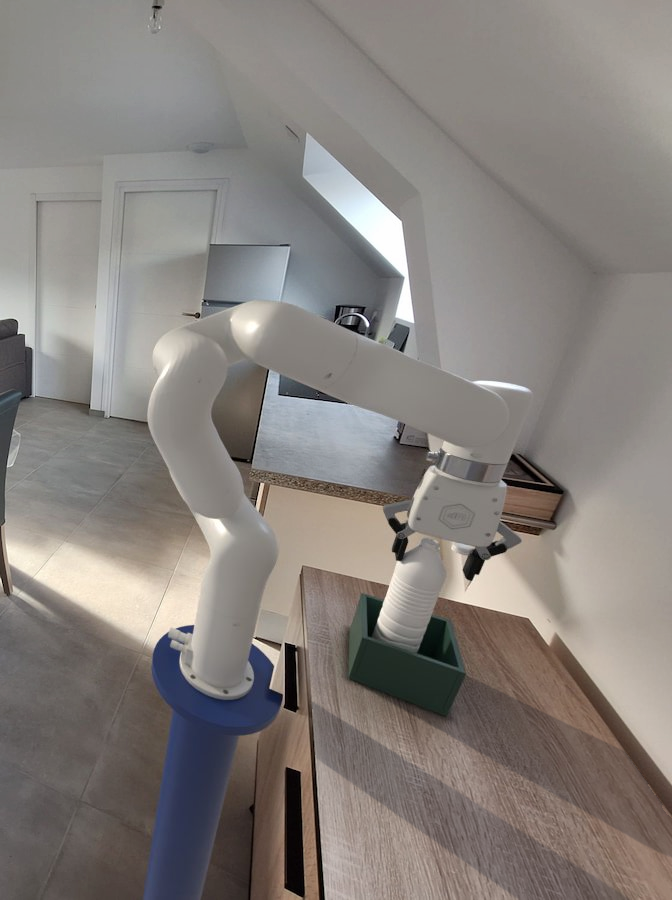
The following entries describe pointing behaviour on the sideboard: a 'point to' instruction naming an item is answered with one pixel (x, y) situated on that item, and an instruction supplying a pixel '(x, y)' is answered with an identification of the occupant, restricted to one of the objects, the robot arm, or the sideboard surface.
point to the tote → (406, 660)
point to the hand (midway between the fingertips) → (431, 566)
